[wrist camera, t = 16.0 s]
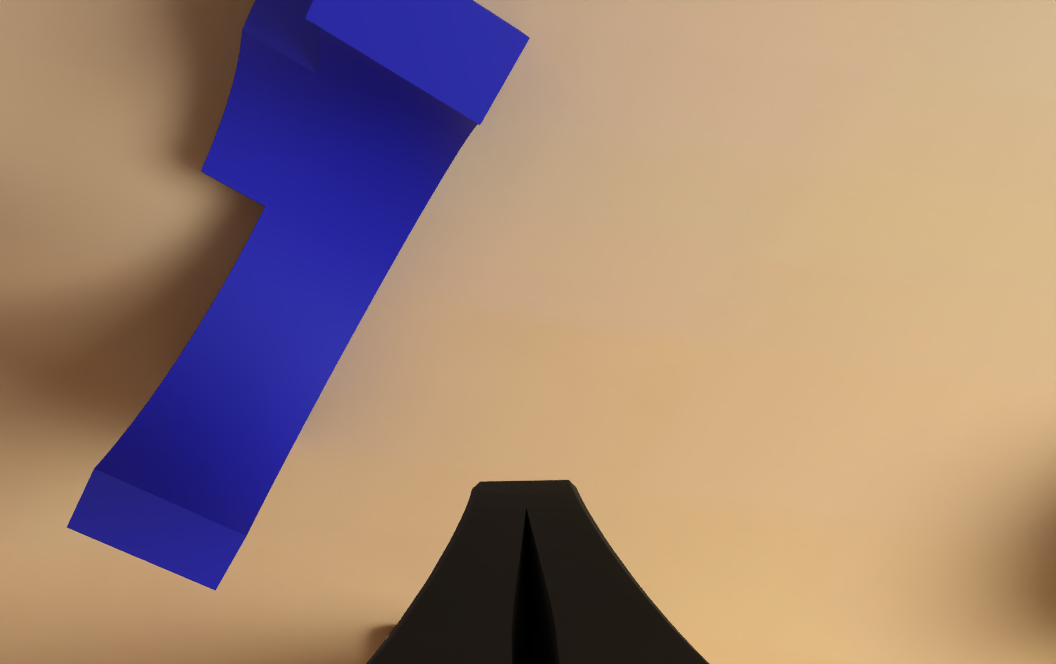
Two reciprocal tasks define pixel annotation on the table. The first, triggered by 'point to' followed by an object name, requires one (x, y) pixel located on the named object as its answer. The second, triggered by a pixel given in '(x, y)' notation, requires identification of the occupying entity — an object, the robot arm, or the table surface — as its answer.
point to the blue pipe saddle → (295, 254)
